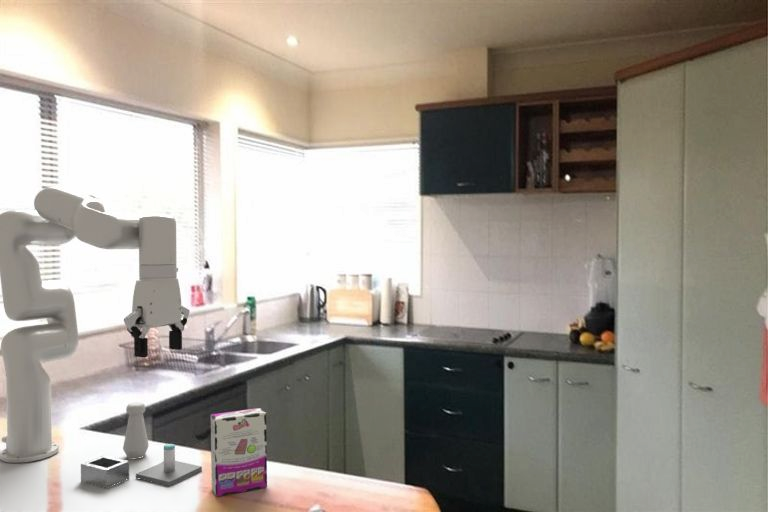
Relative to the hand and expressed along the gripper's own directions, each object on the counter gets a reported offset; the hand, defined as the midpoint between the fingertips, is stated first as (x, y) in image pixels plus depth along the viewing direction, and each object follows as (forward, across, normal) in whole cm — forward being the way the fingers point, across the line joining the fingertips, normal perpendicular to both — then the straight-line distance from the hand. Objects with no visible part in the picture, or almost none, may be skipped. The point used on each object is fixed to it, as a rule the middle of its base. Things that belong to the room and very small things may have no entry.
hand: (158, 352), depth 133 cm
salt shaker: (+29, -11, -20) cm, 37 cm away
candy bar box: (+30, -7, +15) cm, 34 cm away
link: (+29, +3, -14) cm, 32 cm away
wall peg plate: (+29, -6, -4) cm, 30 cm away
